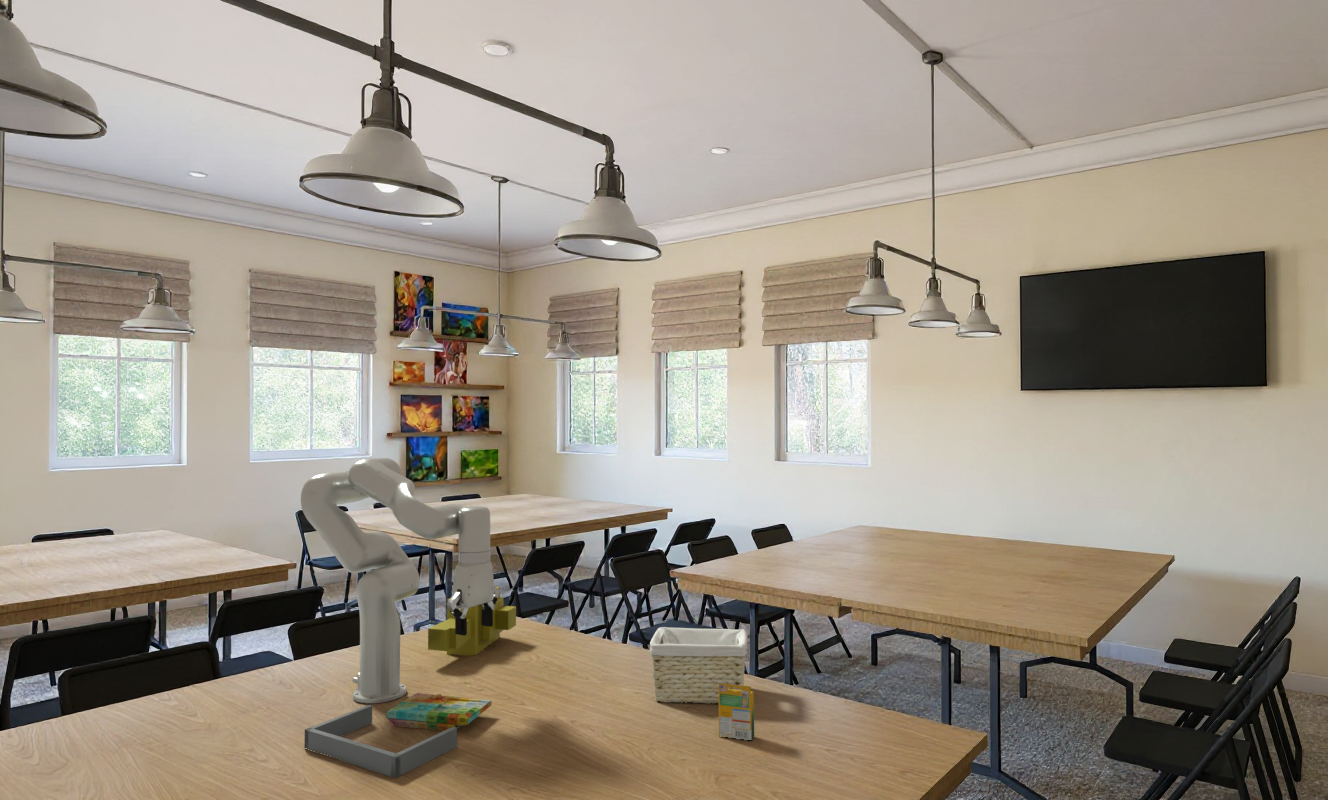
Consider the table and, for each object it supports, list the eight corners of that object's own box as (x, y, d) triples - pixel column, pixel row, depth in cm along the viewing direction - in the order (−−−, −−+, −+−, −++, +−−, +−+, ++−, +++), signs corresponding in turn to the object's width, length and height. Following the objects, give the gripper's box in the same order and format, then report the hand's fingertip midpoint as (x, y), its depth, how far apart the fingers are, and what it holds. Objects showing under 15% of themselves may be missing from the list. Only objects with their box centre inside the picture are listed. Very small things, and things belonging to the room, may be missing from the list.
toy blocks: (474, 584, 248) (522, 586, 245) (474, 634, 247) (522, 636, 245) (424, 610, 213) (479, 612, 211) (424, 668, 213) (479, 671, 210)
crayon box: (754, 736, 165) (754, 682, 166) (751, 741, 163) (751, 686, 163) (722, 732, 168) (721, 678, 168) (718, 737, 165) (718, 683, 165)
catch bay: (304, 748, 160) (304, 729, 160) (368, 722, 174) (368, 704, 174) (395, 778, 146) (395, 757, 146) (456, 747, 160) (456, 727, 160)
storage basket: (648, 703, 185) (648, 642, 186) (657, 681, 201) (657, 625, 202) (747, 708, 182) (746, 646, 183) (748, 685, 198) (747, 628, 199)
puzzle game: (414, 690, 183) (491, 696, 178) (414, 710, 182) (491, 717, 178) (386, 707, 171) (467, 715, 167) (386, 728, 171) (467, 736, 166)
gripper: (487, 551, 195) (487, 620, 194) (436, 562, 180) (436, 636, 179) (510, 553, 191) (510, 623, 190) (459, 564, 176) (459, 641, 175)
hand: (474, 629), depth 185 cm, fingers open, 8 cm apart
